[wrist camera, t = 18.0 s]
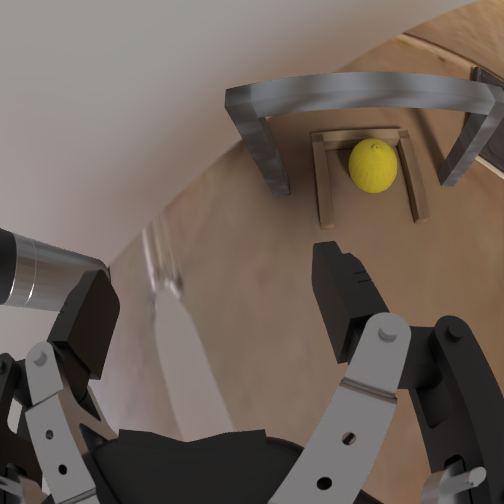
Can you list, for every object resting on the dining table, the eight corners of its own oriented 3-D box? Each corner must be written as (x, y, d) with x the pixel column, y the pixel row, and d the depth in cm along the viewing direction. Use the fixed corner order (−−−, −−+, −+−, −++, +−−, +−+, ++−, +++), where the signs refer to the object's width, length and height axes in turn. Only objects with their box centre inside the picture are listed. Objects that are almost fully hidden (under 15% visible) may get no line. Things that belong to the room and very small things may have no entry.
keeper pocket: (275, 232, 33) (221, 160, 17) (272, 146, 36) (229, 51, 20) (461, 221, 27) (534, 153, 11) (438, 138, 29) (474, 48, 13)
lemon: (338, 176, 32) (338, 140, 25) (372, 156, 32) (379, 117, 24) (365, 211, 30) (373, 181, 23) (399, 189, 30) (414, 155, 22)
